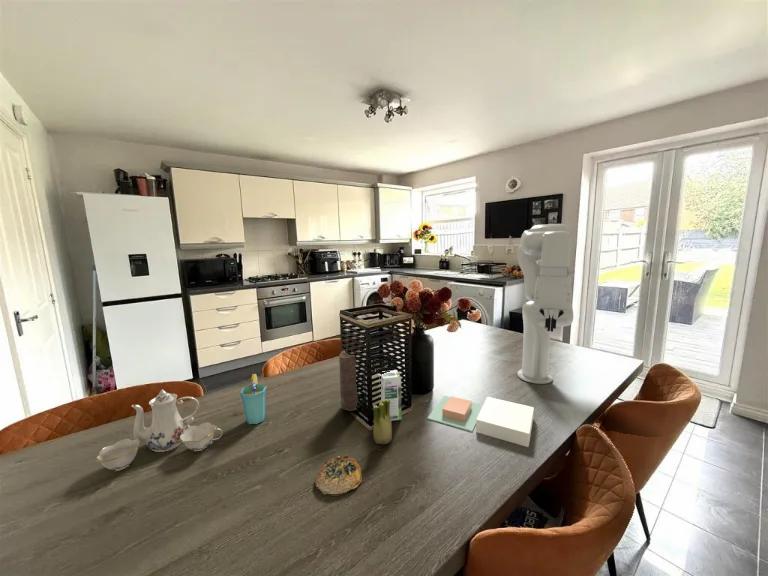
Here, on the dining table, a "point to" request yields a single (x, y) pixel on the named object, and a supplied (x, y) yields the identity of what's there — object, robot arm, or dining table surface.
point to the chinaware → (159, 432)
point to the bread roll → (339, 475)
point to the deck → (506, 421)
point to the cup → (254, 401)
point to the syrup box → (392, 393)
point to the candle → (348, 381)
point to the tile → (457, 409)
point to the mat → (467, 425)
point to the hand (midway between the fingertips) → (550, 330)
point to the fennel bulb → (382, 423)
